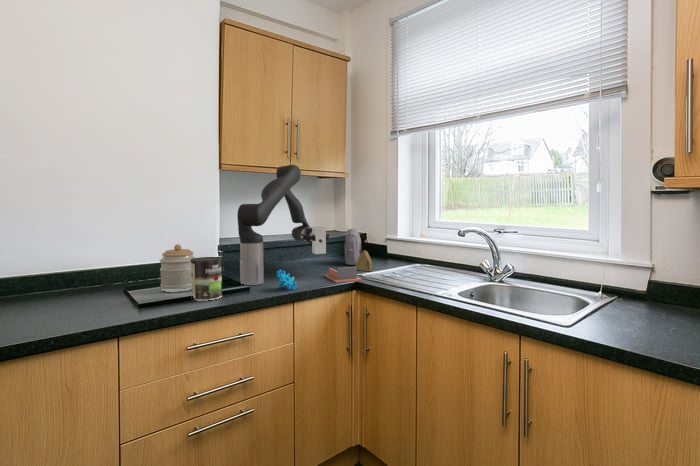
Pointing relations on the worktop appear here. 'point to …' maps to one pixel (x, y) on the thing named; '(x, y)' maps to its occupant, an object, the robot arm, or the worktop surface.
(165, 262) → the jar
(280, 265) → the worktop surface
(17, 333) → the worktop surface
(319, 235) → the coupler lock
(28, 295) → the worktop surface
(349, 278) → the coupler cradle
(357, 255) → the small grey backpack
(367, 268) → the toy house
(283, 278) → the gear
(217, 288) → the coffee can
